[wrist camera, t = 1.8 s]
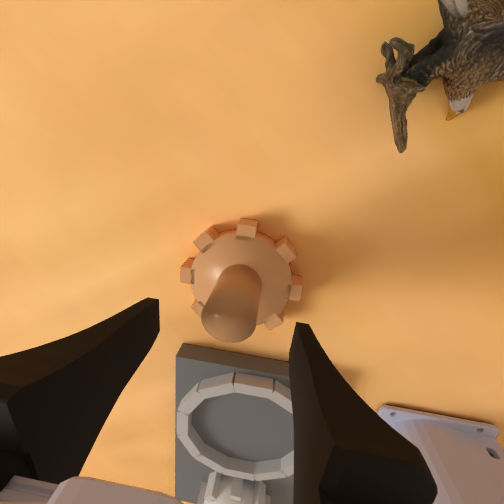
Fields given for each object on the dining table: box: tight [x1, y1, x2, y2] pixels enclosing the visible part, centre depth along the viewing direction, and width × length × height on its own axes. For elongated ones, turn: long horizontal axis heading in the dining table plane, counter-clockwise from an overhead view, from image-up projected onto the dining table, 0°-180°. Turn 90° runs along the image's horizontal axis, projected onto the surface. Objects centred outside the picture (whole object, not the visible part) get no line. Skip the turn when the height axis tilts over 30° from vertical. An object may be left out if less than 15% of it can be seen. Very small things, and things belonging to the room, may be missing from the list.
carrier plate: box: [175, 344, 294, 504], centre depth 23 cm, size 13×21×5 cm, turn 173°
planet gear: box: [180, 218, 303, 343], centre depth 16 cm, size 8×8×6 cm
